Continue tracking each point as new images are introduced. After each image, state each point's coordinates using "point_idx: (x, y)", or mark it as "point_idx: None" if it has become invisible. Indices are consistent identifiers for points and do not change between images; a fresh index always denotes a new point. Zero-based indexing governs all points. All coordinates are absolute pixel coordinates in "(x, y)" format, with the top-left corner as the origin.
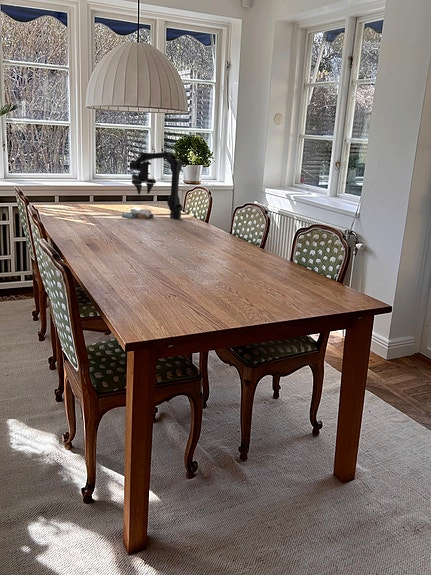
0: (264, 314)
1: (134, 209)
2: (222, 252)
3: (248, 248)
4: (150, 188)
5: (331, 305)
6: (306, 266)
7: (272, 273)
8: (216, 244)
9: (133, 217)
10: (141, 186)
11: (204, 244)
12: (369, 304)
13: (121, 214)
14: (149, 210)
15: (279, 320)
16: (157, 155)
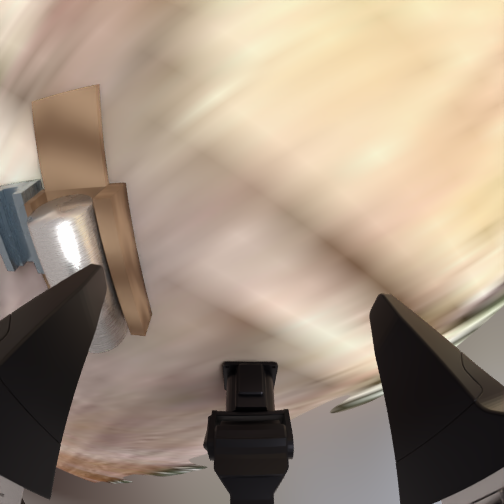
0: None
1: (36, 252)
2: (71, 452)
3: (123, 469)
4: (390, 428)
5: (63, 469)
6: (121, 481)
7: (72, 465)
8: (92, 452)
9: (28, 260)
10: (49, 464)
11: (73, 443)
12: (86, 479)
13: (33, 116)
14: (97, 349)
15: None
16: None
